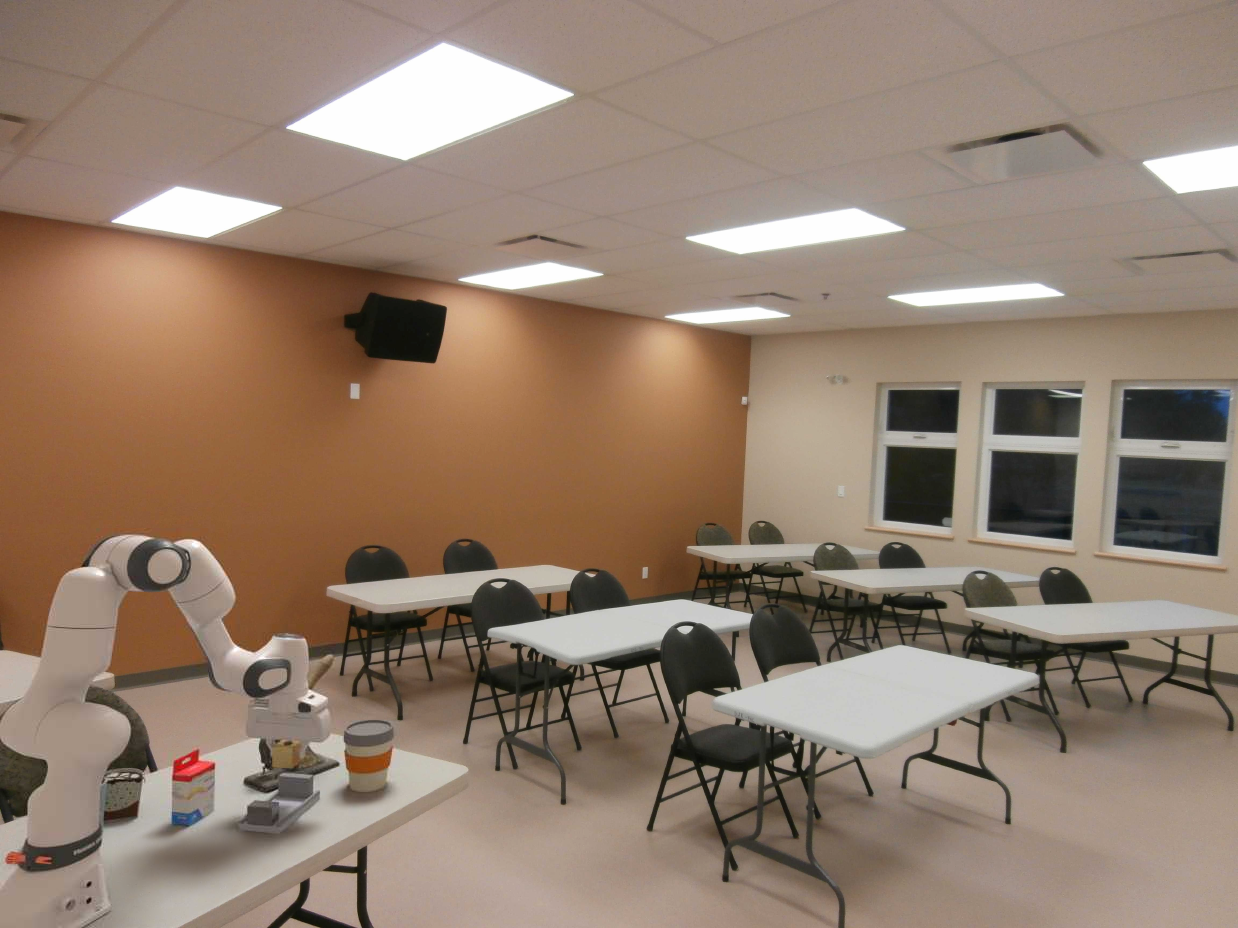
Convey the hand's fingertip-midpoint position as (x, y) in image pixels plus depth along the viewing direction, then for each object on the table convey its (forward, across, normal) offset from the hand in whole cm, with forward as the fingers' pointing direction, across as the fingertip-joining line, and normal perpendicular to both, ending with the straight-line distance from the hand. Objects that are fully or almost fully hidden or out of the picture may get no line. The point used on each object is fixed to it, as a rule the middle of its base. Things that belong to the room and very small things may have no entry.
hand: (287, 756), depth 189 cm
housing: (+2, 0, 0) cm, 2 cm away
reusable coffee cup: (+13, +13, +16) cm, 25 cm away
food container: (+13, -37, -10) cm, 40 cm away
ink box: (+13, -19, -8) cm, 24 cm away
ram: (+11, 0, -10) cm, 14 cm away
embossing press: (+13, -9, +19) cm, 25 cm away
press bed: (+13, 0, -3) cm, 13 cm away
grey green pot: (+13, -37, -21) cm, 44 cm away
